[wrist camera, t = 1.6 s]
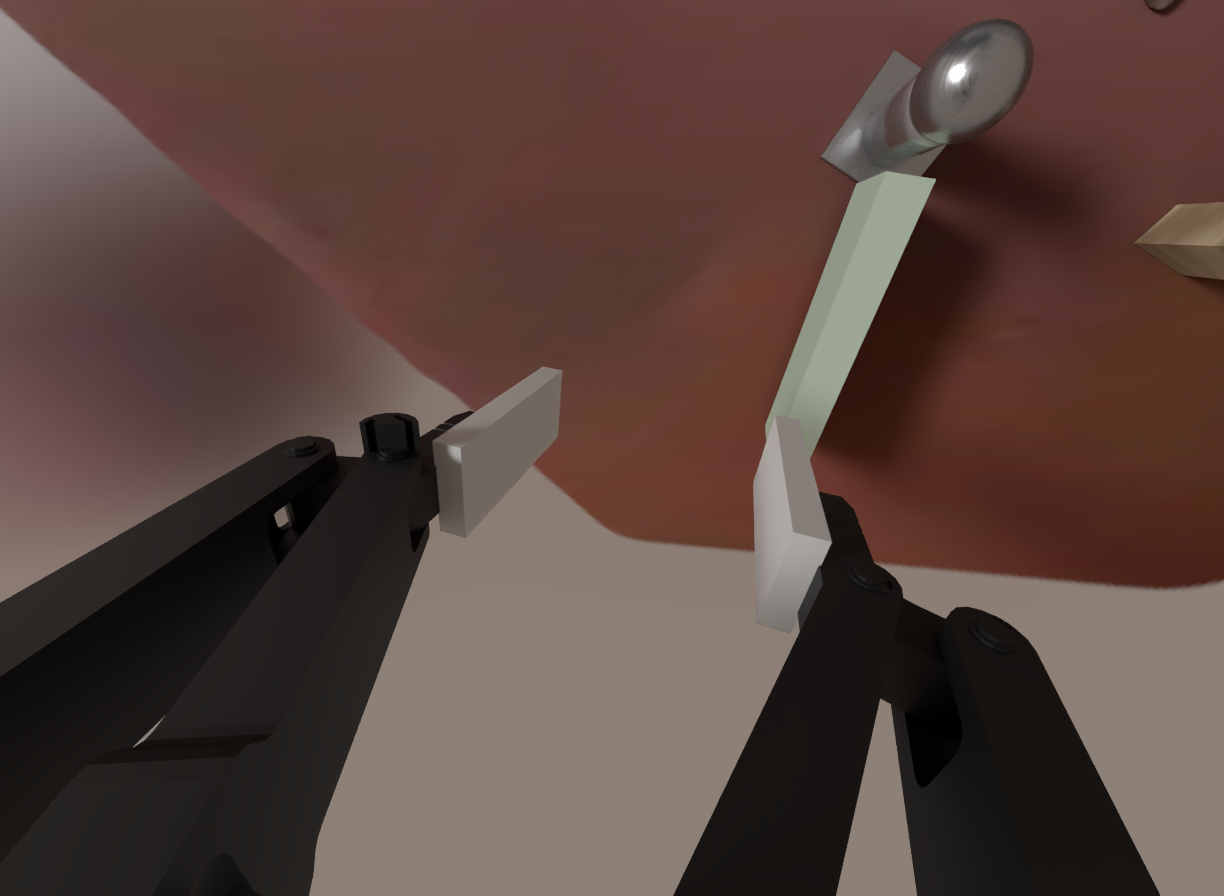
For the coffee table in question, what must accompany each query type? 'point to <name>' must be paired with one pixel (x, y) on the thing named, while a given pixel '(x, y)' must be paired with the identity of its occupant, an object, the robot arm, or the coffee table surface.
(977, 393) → the coffee table surface
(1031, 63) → the hinge post
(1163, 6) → the stuffed animal
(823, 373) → the gate
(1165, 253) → the block
